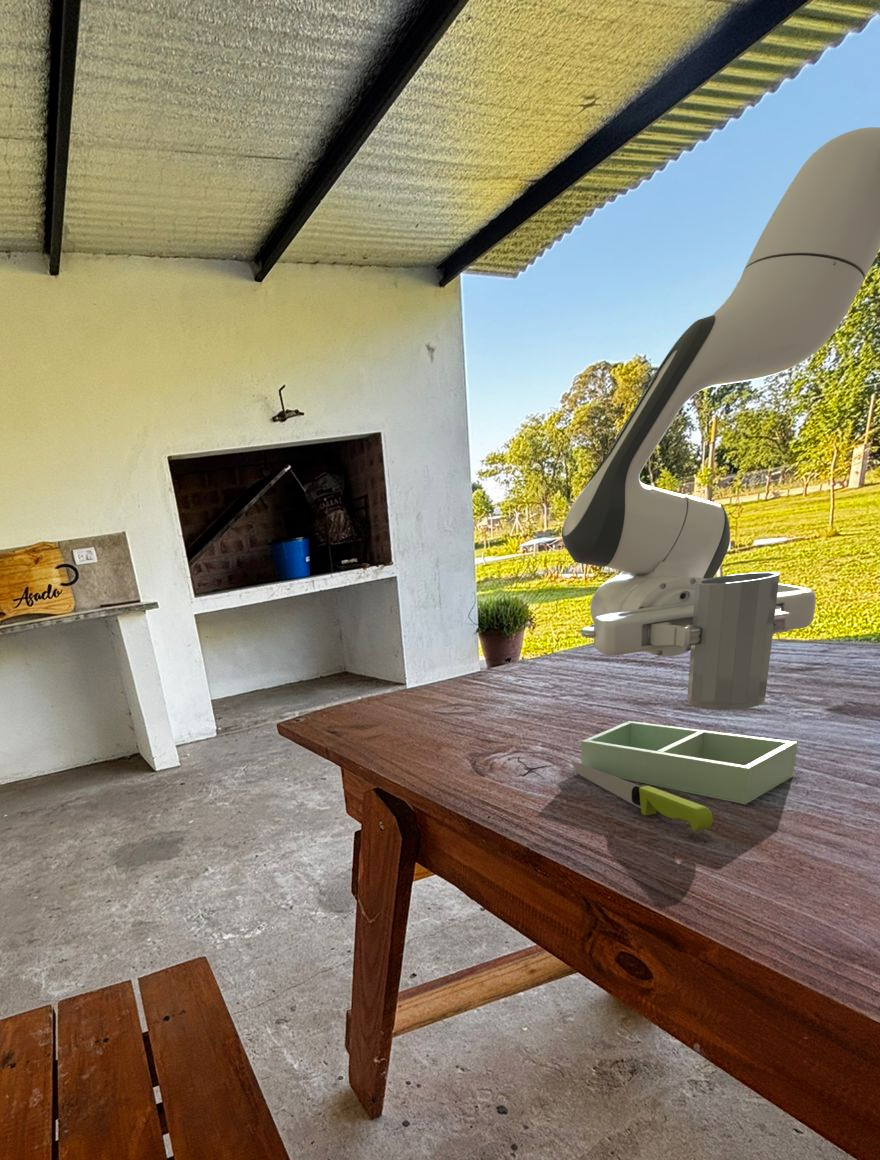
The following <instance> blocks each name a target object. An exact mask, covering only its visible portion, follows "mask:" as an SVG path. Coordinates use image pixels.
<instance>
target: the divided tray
mask: <svg viewBox="0 0 880 1160" xmlns="http://www.w3.org/2000/svg"><path fill="white" fill-rule="evenodd" d="M580 745H581V752H580V753H581V754H580V755H581V756H580V757H581V758H580V759H581V763H580V764H583V765H585V766H588V767H591V768H593V769H596V770H599V771H601V772H604V773H607V774H609V775H612V776H615V777H617V778H620V779H623V780H625V781H630V782H631V781H632V782H637V783H641V784H644V785H649V786H650V785H651V786H656V787H660V788H665V789H669V790H674V791H679V792H684V793H689V794H693V795H698V796H703V797H708V798H712V799H718V800H723V801H728V802H732V803H737V804H742V805H747V804H749V803H750V802H752V801H754V800H755V799H757V798H759V797H761V796H762V795H764V794H766V793H767V792H769V791H770V790H772V789H774V788H776V787H777V786H779V785H781V784H783V783H784V782H786V781H787V780H789V779H791V778H793V777H794V774H795V766H796V757H797V750H798V741H794V740H793V741H791V740H785V739H776V738H767V737H761V736H752V735H743V734H738V733H737V734H736V733H729V732H722V731H721V732H719V731H714V730H713V731H712V730H705V729H696V728H688V727H681V726H674V725H673V726H671V725H666V724H665V725H664V724H655V723H648V722H641V721H633V720H628V721H625V722H622V723H621V724H619V725H616V726H614V727H611V728H609V729H607V730H605V731H602V732H600V733H598V734H595V735H593V736H590V737H588V738H585V739H583V740H581V743H580Z"/></svg>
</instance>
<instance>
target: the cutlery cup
mask: <svg viewBox="0 0 880 1160" xmlns="http://www.w3.org/2000/svg"><path fill="white" fill-rule="evenodd" d="M780 577H781V573H780V572H777V571H775V572H774V571H762V572H747V573H735V574H728V575H721V576H714V577H713V578H709V579H704V580H701V581H698V582H696V583H695V596H694V610H693V624H692V625H695V626H699V627H700V628H701V634H700V636H699V637H700V638H701V639H700V643H699V644H698V645H692V646H691V650H690V653H689V654H690V655H689V666H688V681H687V685H688V686H687V704H688V705H689V706H691V707H694V708H698V709H702V710H703V709H704V710H711V711H712V710H714V711H733V710H734V711H735V710H744V709H749V708H754V707H758V706H760V705H762V704H764V703H765V701H766V696H767V688H768V680H769V679H768V678H769V672H770V663H771V662H770V661H771V654H772V643H773V637H774V634H773V629H774V621H775V612H776V604H777V595H778V587H779V584H780Z"/></svg>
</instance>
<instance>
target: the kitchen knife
mask: <svg viewBox="0 0 880 1160" xmlns="http://www.w3.org/2000/svg"><path fill="white" fill-rule="evenodd" d="M570 762H571V763H572V766H573V768H574V770H575V771H576V772H577V774H578V775H579V776H581V777H583V778H585V779H586V780H588V781H590V782H591V783H593V784H595V785H597V786H599V787H600V788H602V789H605V790H606V791H607V792H609V793H611V794H613V795H615V796H617V797H619V798H621V799H622V800H624V801H626V802H628V803H630V804H631V805H633V806H635V807H637V808H639V809H640V814H642V815H643V816H652V815H656V814H657V812H658V813H659V814H661V815H662V816H664V817H666V818H668V819H671V820H682V821H686V822H687V823H689V825H690V828H691V830H692V831H695V832H698V831H703V830H707V829H710V828H711V827H712V825H713V822H714V818H713V814H712V812H711V811H710V809H709V808H708V807H706V806H705V805H702V804H699V803H698V802H694V801H691V800H688V799H686V798H683V797H680V796H678V795H675V794H673V793H670V792H667V791H664V790H662V789H659V788H657V787H653V786H652V785H651V786H650V785H648V784H641V785H640V784H639V785H638V784H636V783H634V782H631V781H629V780H626V779H621V778H617V777H615V776H612V775H609V774H607V773H604V772H601V771H599V770H596V769H593V768H591V767H588V766H585V765H583V764H581V763H580V762H578V761H575V760H571V761H570Z"/></svg>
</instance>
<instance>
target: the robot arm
mask: <svg viewBox="0 0 880 1160" xmlns="http://www.w3.org/2000/svg"><path fill="white" fill-rule="evenodd" d="M879 251H880V127H877V126H873V127H872V126H869V127H863V128H857V129H854V130H853V129H852V130H850V131H846V132H844V133H842V134H840V135H837V136H835V137H834V138H832V139H830V140H828V141H827V142H826V143H824V144H823V145H821V146H820V147H819V148H818V149H817V150H815V152H813V153H812V154H811V155H810V156H809V157H808V159H807V160H806V161H804V164H803V165H802V166H801V168H800V169H799V170H798V172H797V173H796V174H795V176H794V178H793V180H792V181H791V183H790V185H788V188H787V189H786V191H785V193H784V194H783V195H782V198H781V199H780V200H779V203H778V204H777V205H776V207H775V209H774V211H773V213H772V214H771V216H770V218H769V220H768V222H767V224H766V225H765V227H764V229H763V231H762V233H761V235H760V236H759V238H758V240H757V242H756V244H755V247H754V248H753V250H752V253H751V254H750V256H749V258H748V260H747V262H746V264H745V266H744V269H743V270H742V272H741V275H740V277H739V278H738V281H737V283H736V284H735V286H734V288H733V289H732V291H731V292H730V294H729V295H728V297H727V298H726V299H725V300H724V302H723V303H722V304H721V306H719V307H718V308H717V310H715V311H714V312H713V313H712V314H711V315H709V316H706V317H702V318H700V319H697V320H695V321H694V322H693V323H692V324H691V325H690V326H689V327H687V329H686V330H685V331H684V332H683V333H682V334H681V335H680V337H679V338H678V339H677V341H676V342H675V343H674V344H673V346H672V347H671V348H670V350H669V352H668V353H667V355H665V357H664V359H663V361H662V362H661V363H660V365H659V367H658V368H657V370H656V371H655V372H654V374H653V376H652V378H651V379H650V381H649V383H648V384H647V385H646V388H644V390H643V392H642V394H641V396H640V397H639V398H638V401H637V402H636V404H635V405H634V407H633V408H632V411H631V412H630V414H629V416H628V417H627V419H626V421H625V422H624V424H623V426H622V427H621V429H620V430H619V432H618V434H617V435H616V437H615V439H614V440H613V442H612V444H611V445H610V447H609V449H608V450H607V452H606V453H605V456H604V457H603V458H602V461H601V462H600V463H599V465H598V467H597V468H596V469H595V471H594V472H593V474H592V475H591V477H590V479H589V480H588V481H587V483H586V484H585V486H583V488H582V490H581V492H580V493H579V495H578V496H577V498H576V499H575V500H574V502H573V503H572V504H571V506H570V508H569V510H568V512H567V513H566V517H565V518H564V522H563V525H562V529H561V539H562V541H563V544H564V546H565V548H566V551H567V553H568V554H569V556H570V557H571V558H572V560H573V561H574V563H576V564H582V565H588V566H594V567H600V568H605V567H606V568H609V569H614V570H617V571H619V572H620V571H621V572H620V573H618V574H617V575H616V576H613V577H612V578H611V579H609V580H607V581H605V582H604V583H602V584H601V585H600V586H599V587H598V588H597V589H596V591H595V592H594V594H593V596H592V598H591V601H590V616H591V619H592V622H593V624H591V625H589V626H587V627H582V628H581V630H580V631H579V632H580V636H581V637H583V638H587V639H593V648H595V650H597V652H599V653H600V654H603V655H604V656H621V655H629V654H634V653H642V652H646V653H648V654H651V655H655V656H659V657H665V658H666V657H667V658H668V657H676V656H679V655H683V654H685V653H688V652H689V651H690V652H691V646H692V645H698V644H699V643H700V639H701V638H700V637H699V636H700V634H701V628H700V627H699V626H695V625H692V624H693V610H694V596H695V583H696V582H698V581H701V580H704V579H709V578H714V577H716V574H717V572H719V570H720V568H721V566H722V564H723V563H724V559H725V557H726V555H727V554H728V553H727V552H728V550H729V547H730V543H731V526H730V520H729V516H728V514H727V511H726V509H725V507H724V506H723V505H722V504H721V503H718V502H717V503H716V502H713V501H710V500H708V499H707V500H706V499H703V498H700V497H697V496H692V495H688V494H685V493H677V492H674V491H670V490H667V489H663V488H659V487H656V486H652V485H648V484H645V483H643V482H641V480H640V475H641V473H642V471H643V469H644V467H645V466H646V464H647V463H648V461H649V460H650V458H651V456H652V455H653V453H654V452H655V450H656V448H657V447H658V445H659V444H660V442H661V441H662V440H663V437H664V436H665V434H666V432H667V431H668V430H669V428H670V426H671V425H672V423H673V422H674V420H675V418H676V417H677V416H678V414H679V412H680V411H681V409H682V408H683V406H684V405H685V404H686V403H687V402H688V401H689V400H690V399H691V398H692V397H693V396H695V395H696V394H698V393H699V392H701V391H703V390H706V389H709V388H712V387H718V386H724V385H731V384H737V383H744V382H748V381H755V380H761V379H764V378H767V377H771V376H775V375H777V374H781V373H783V372H785V371H788V370H790V369H792V368H794V367H796V366H797V365H799V364H801V363H802V362H803V363H804V361H806V360H807V359H808V358H810V357H811V356H812V355H814V354H815V353H816V352H818V351H819V350H820V349H821V348H822V347H823V346H824V345H825V344H826V343H828V342H829V340H830V338H831V337H832V336H833V335H834V333H835V332H836V330H837V329H838V328H839V327H840V325H841V324H842V321H843V320H844V318H845V317H846V316H847V313H848V312H849V310H850V308H851V306H852V305H853V302H854V301H855V300H856V297H857V295H858V293H859V291H860V289H861V287H862V285H863V284H864V281H865V280H866V277H867V276H868V274H869V271H870V270H871V268H872V266H873V264H874V262H875V260H876V257H877V256H878V254H879ZM816 600H817V596H816V592H815V591H814V590H813V589H811V588H807V587H804V586H803V587H802V586H797V585H792V584H784V583H779V587H778V595H777V604H776V612H775V621H774V629H773V635H774V634H781V633H787V632H789V631H792V630H801V629H806V628H809V626H810V625H811V624H812V622H813V620H814V617H815V612H816V603H817V601H816Z"/></svg>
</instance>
